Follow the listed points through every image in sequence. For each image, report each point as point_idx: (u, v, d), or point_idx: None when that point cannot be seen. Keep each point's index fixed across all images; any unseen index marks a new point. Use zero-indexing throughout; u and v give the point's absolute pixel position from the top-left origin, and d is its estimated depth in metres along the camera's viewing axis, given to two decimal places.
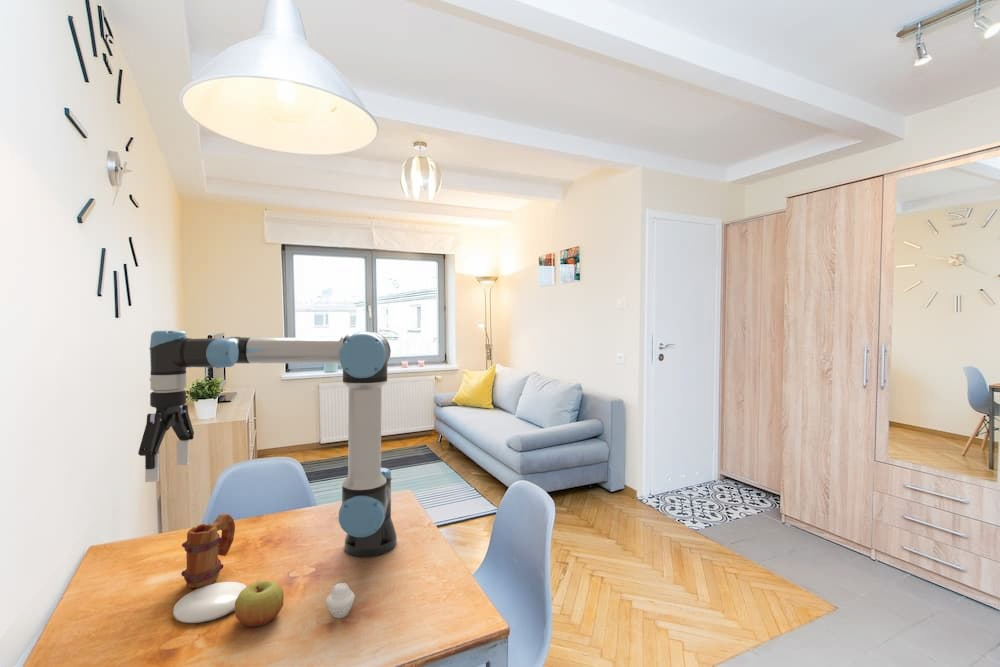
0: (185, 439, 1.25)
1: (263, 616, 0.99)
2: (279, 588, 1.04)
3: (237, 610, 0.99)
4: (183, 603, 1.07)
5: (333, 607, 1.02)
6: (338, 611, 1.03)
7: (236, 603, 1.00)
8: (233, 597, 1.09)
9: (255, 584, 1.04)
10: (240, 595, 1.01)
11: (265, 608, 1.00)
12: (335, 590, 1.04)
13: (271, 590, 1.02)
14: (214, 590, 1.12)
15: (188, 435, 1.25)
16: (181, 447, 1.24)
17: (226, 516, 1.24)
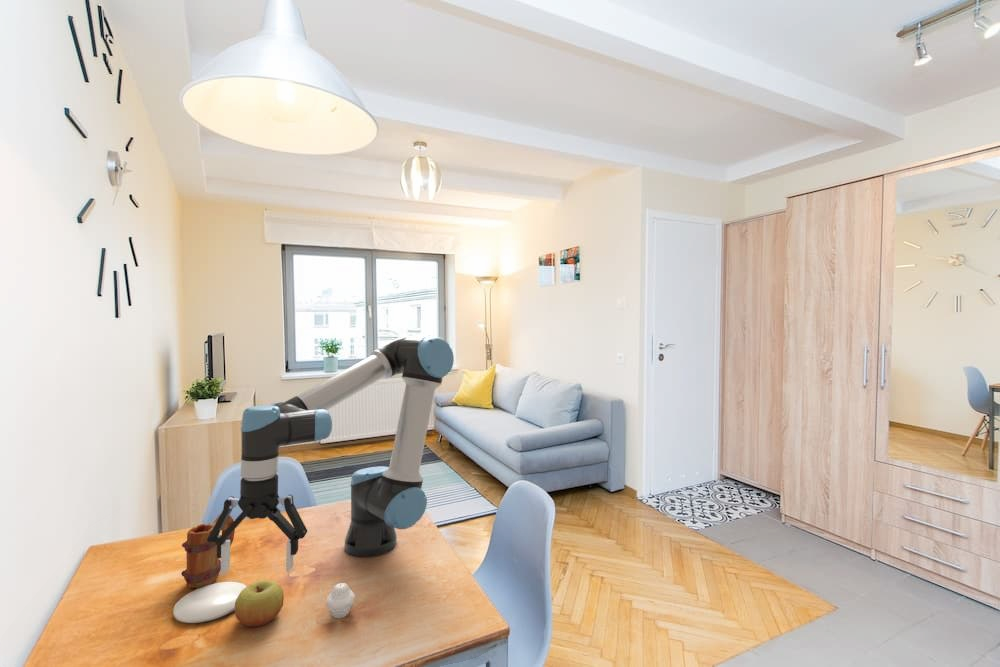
0: None
1: (263, 617, 0.99)
2: (279, 588, 1.04)
3: (237, 610, 0.99)
4: (183, 603, 1.07)
5: (333, 607, 1.02)
6: (338, 611, 1.03)
7: (236, 603, 1.00)
8: (233, 597, 1.09)
9: (255, 584, 1.04)
10: (240, 595, 1.01)
11: (265, 608, 1.00)
12: (335, 590, 1.04)
13: (271, 590, 1.02)
14: (214, 590, 1.12)
15: (290, 536, 1.03)
16: None
17: None
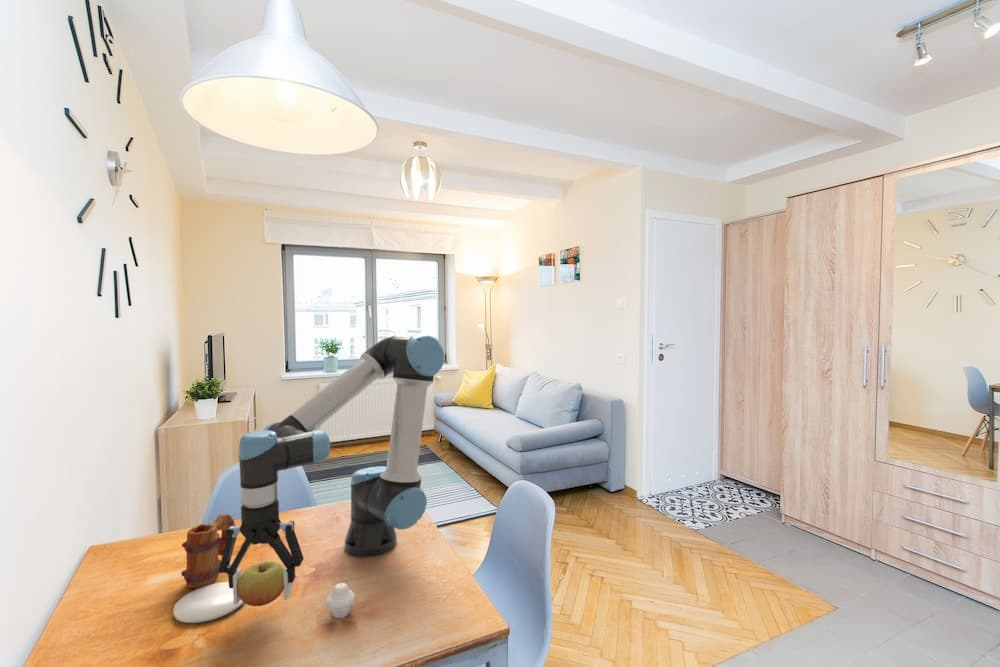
0: None
1: (267, 596, 1.00)
2: (282, 568, 1.05)
3: (240, 590, 1.00)
4: (183, 603, 1.07)
5: (333, 607, 1.02)
6: (338, 611, 1.03)
7: (239, 583, 1.01)
8: None
9: (257, 565, 1.05)
10: (243, 575, 1.02)
11: (268, 587, 1.00)
12: (335, 590, 1.04)
13: (273, 570, 1.03)
14: (214, 590, 1.12)
15: (287, 564, 1.03)
16: None
17: (226, 516, 1.24)
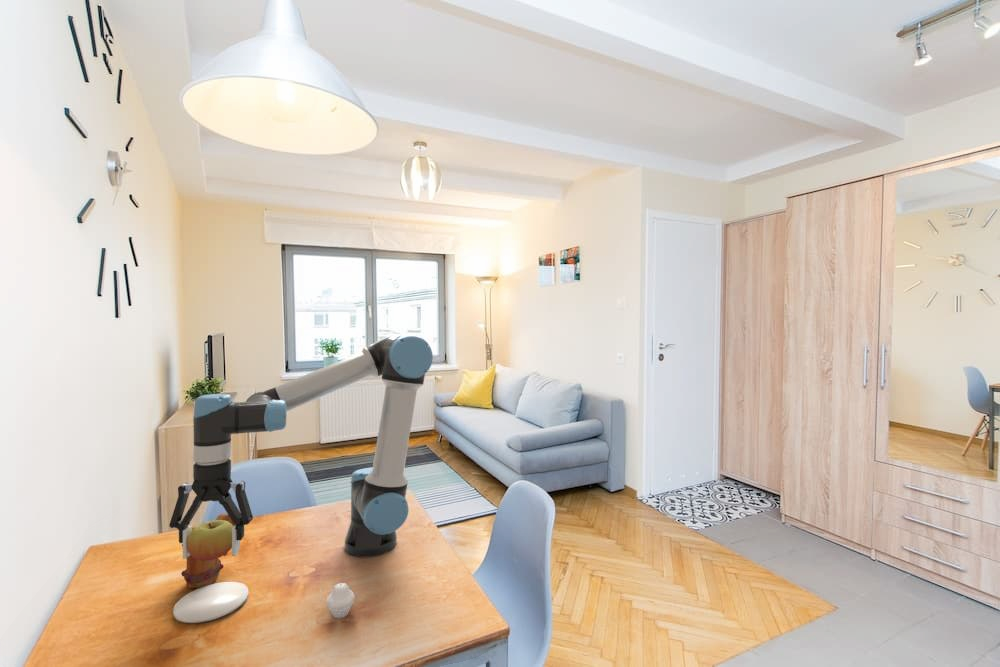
0: None
1: (214, 550, 1.04)
2: (231, 527, 1.09)
3: (189, 544, 1.04)
4: (183, 603, 1.07)
5: (333, 607, 1.02)
6: (338, 611, 1.03)
7: (188, 538, 1.05)
8: (233, 597, 1.09)
9: (208, 522, 1.09)
10: (192, 531, 1.06)
11: (216, 542, 1.04)
12: (335, 590, 1.04)
13: (222, 527, 1.07)
14: (214, 590, 1.12)
15: (236, 522, 1.08)
16: None
17: (226, 516, 1.24)
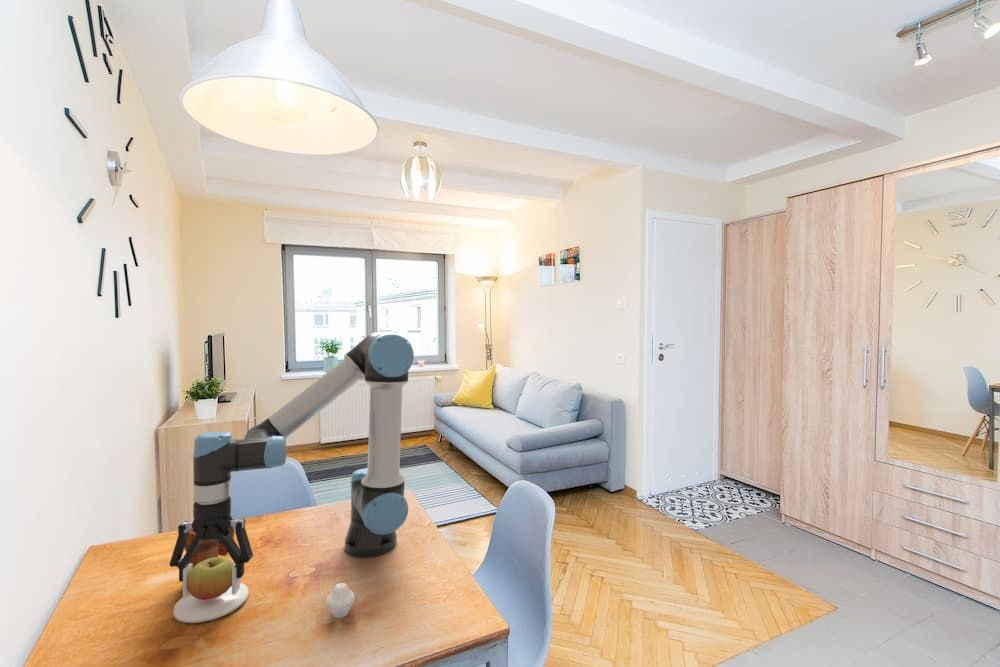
0: None
1: (214, 590, 1.04)
2: (231, 564, 1.09)
3: (189, 583, 1.04)
4: (183, 603, 1.07)
5: (333, 607, 1.02)
6: (338, 611, 1.03)
7: (188, 577, 1.05)
8: (233, 597, 1.09)
9: (208, 560, 1.09)
10: (192, 570, 1.06)
11: (216, 581, 1.05)
12: (335, 590, 1.04)
13: (222, 565, 1.07)
14: None
15: (236, 560, 1.08)
16: None
17: None
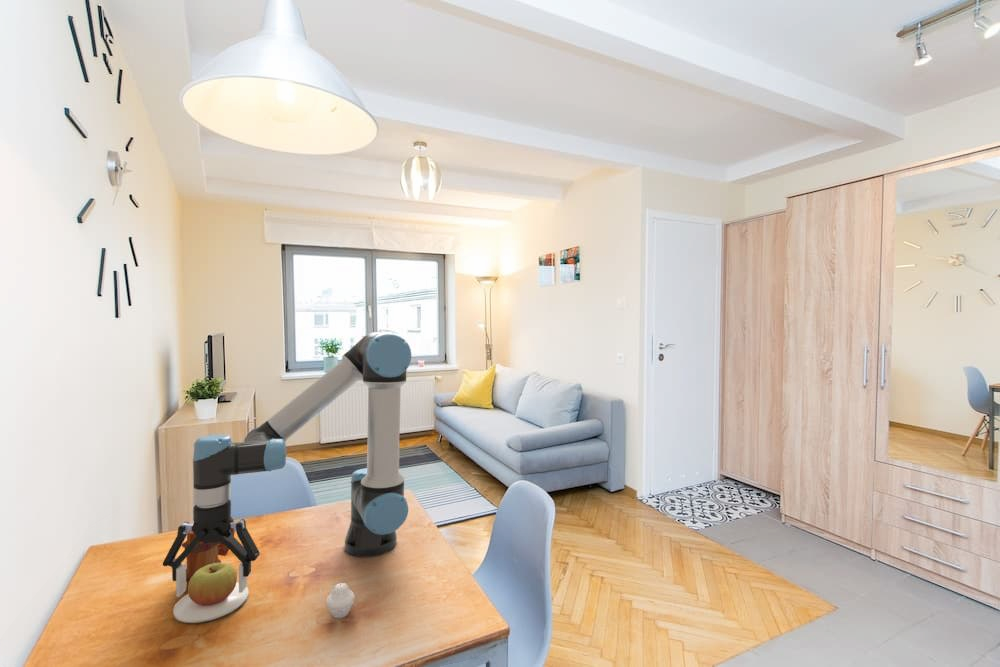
0: None
1: (215, 596, 1.04)
2: (232, 570, 1.10)
3: (190, 589, 1.04)
4: (183, 603, 1.07)
5: (333, 607, 1.02)
6: (338, 611, 1.03)
7: (189, 583, 1.05)
8: (233, 597, 1.09)
9: (209, 566, 1.10)
10: (193, 576, 1.06)
11: (217, 587, 1.05)
12: (335, 590, 1.04)
13: (223, 571, 1.08)
14: None
15: (242, 559, 1.08)
16: None
17: None
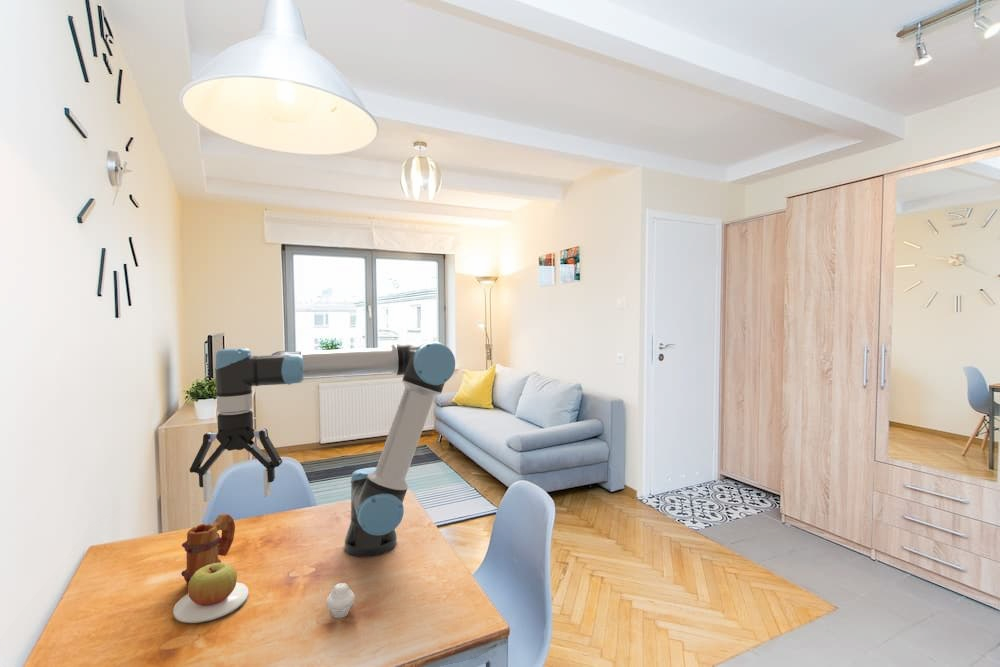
0: None
1: (215, 596, 1.04)
2: (232, 570, 1.10)
3: (190, 589, 1.04)
4: (183, 603, 1.07)
5: (333, 607, 1.02)
6: (338, 611, 1.03)
7: (189, 583, 1.05)
8: (233, 597, 1.09)
9: (209, 566, 1.10)
10: (193, 576, 1.06)
11: (217, 587, 1.05)
12: (335, 590, 1.04)
13: (223, 571, 1.07)
14: None
15: (267, 465, 1.13)
16: None
17: (226, 516, 1.24)
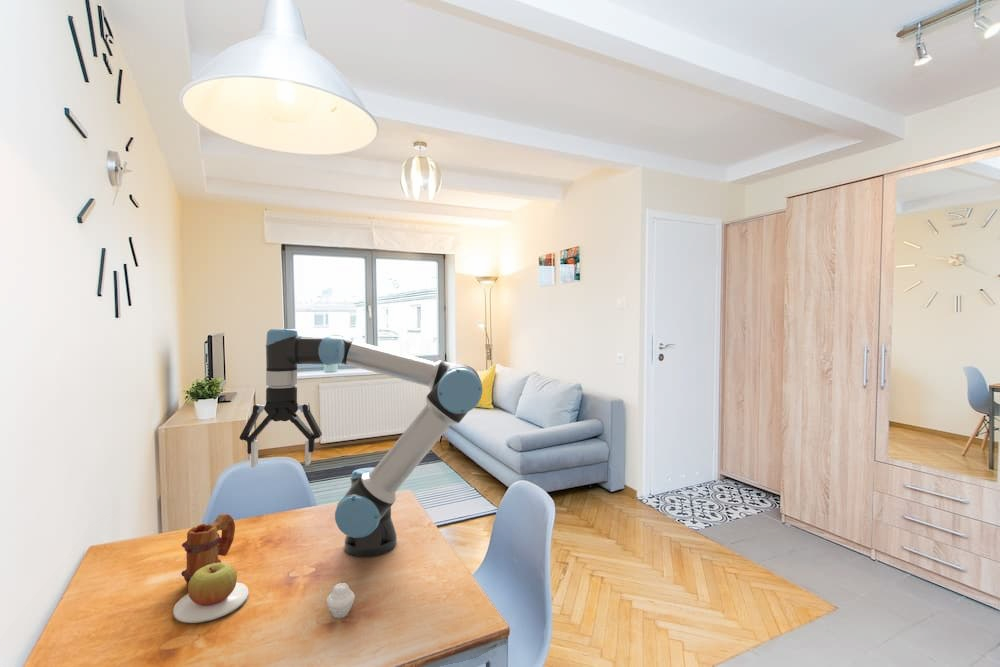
0: None
1: (215, 596, 1.04)
2: (232, 570, 1.10)
3: (190, 589, 1.04)
4: (183, 603, 1.07)
5: (333, 607, 1.02)
6: (338, 611, 1.03)
7: (189, 583, 1.05)
8: (233, 597, 1.09)
9: (209, 566, 1.10)
10: (193, 576, 1.06)
11: (217, 587, 1.05)
12: (335, 590, 1.04)
13: (223, 571, 1.08)
14: None
15: (308, 436, 1.23)
16: None
17: (226, 516, 1.24)
